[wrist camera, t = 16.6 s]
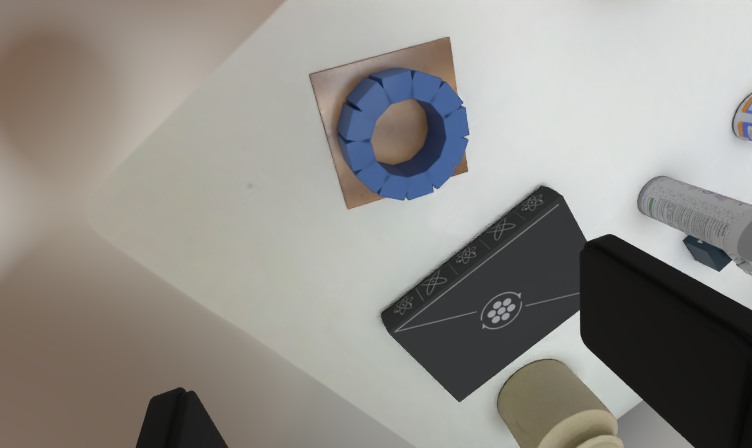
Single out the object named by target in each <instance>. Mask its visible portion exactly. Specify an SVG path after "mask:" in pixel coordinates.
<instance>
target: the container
mask: <svg viewBox="0 0 752 448" xmlns="http://www.w3.org/2000/svg"><path fill="white" fill-rule="evenodd" d="M638 207H639V210H640V211H641V212H642V213H643V214H645V215H647V216H649V217H651V218H654V219H656V220H658V221H660V222H662V223H665V224H667V225H669V226H671V227H674V228H676V229H678V230H680V231H682V232H685V233H687V234H689V235H691V236H694V237H696V238H698V239H700V240H702V241H705V242H707V243H709V244H711V245H714V246H716V247H718V248H720V249H722V250H725V251H727V252H729V253H731V254H734V255H736V256H739V257H741V258H743V259H746V260H748V261H750V262H752V205H750V204H747V203H744V202H741V201H738V200H735V199H732V198H729V197H726V196H723V195H720V194H717V193H714V192H711V191H708V190H705V189H702V188H699V187H696V186H693V185H690V184H687V183H684V182H681V181H678V180H675V179H672V178H668V177H665V176H659V177H656V178H654V179H652V180H651V181H649V182H648V183H647V184H646V185H645V186H644V188H643V189H642V191H641V193H640V195H639V198H638Z"/></svg>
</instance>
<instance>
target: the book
mask: <svg viewBox="0 0 752 448" xmlns="http://www.w3.org/2000/svg"><path fill="white" fill-rule="evenodd" d="M586 242H587V241H586V239H585V237H584V235H583V233H582V231H581V229H580V228H579V226H578V224H577V222H576V220H575V218H574V216H573V214H572V213H571V211H570V209H569V207H568V205H567V203H566V201H565V200H564V198H563V196H562V195H560V194H559V193H558V192H556V191H554V190H553V189H551V188H548V187H545V186H542V187H541V188H540V189H538V190H537V191H536V192H535V193H533V194H532V195H531V196H530V197H528V198H527V199H526V200H525V201H523V202H522V203H521V204H520V205H518V206H517V207H516V208H514V209H513V210H512V211H511V212H509V213H508V214H507V215H506V216H504V217H503V218H502V219H501V220H499V221H498V222H497V223H496V224H494V225H493V226H492V227H491V228H489V229H488V230H487V231H486V232H484V233H483V234H482V235H481V236H479V237H478V238H477V239H475V240H474V241H473V242H472V243H470V244H469V245H468V246H467V247H465V248H464V249H463V250H462V251H460V252H459V253H458V254H457V255H455V256H454V257H453V258H452V259H450V260H449V261H448V262H447V263H445V264H444V265H443V266H442V267H440V268H439V269H438V270H436V271H435V272H434V273H433V274H431V275H430V276H429V277H428V278H426V279H425V280H424V281H423V282H421V283H420V284H419V285H418V286H416V287H415V288H414V289H413V290H411V291H410V292H409V293H408V294H406V295H405V296H404V297H403V298H401V299H400V300H399V301H398V302H396V303H395V304H394V305H392V306H391V307H390V308H389V309H387V310H386V311H385V312H384V313H382V314H381V318H382V321H383V323H384V325H385V327H386V329H387V331H388V333H389V334H390V335H391V336H392V337H393V338H394V339H395V340H396V341H397V342H398V343H399V344H400V345H401V346H402V347H403V348H404V349H405V350H406V351H407V352H408V353H409V354H410V355H411V356H412V357H414V358H415V359H416V360H417V361H418V362H419V363H420V364H421V365H422V366H423V367H424V368H425V369H426V370H427V371H428V372H429V373H430V374H431V375H432V376H433V377H434V378H435V379H436V380H437V381H438V382H439V383H440V384H441V385H442V386H443V387H444V388H445V389H446V390H447V391H448V392H449V393H450V394H451V395H452V396H453V397H454V398H455V399H456V400H457V401H458V402H461V401H462V400H463V399H465V398H466V397H467V396H469V395H470V394H471V393H472V392H474V391H475V390H476V389H478V388H479V387H480V386H482V385H483V384H484V383H485V382H487V381H488V380H489V379H491V378H492V377H493V376H495V375H496V374H497V373H498V372H500V371H501V370H502V369H504V368H505V367H506V366H507V365H509V364H510V363H511V362H513V361H514V360H515V359H517V358H518V357H519V356H520V355H522V354H523V353H524V352H526V351H527V350H528V349H530V348H531V347H532V346H533V345H535V344H536V343H537V342H539V341H540V340H541V339H543V338H544V337H545V336H546V335H548V334H549V333H550V332H552V331H553V330H554V329H556V328H557V327H558V326H559V325H561V324H562V323H563V322H565V321H566V320H567V319H569V318H570V317H571V316H572V315H574V314H575V313H576V312H578V311H579V310H580V262H579V255H580V252H581V250H583V248H584V245H585V243H586Z"/></svg>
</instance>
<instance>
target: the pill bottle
mask: <svg viewBox="0 0 752 448" xmlns="http://www.w3.org/2000/svg"><path fill="white" fill-rule="evenodd" d="M734 131H735V133H736V135H737V136H738V137H739V138H741V139H744V140H748V141H752V94H751V95H750V96H749V97H748V98H747V99H746V100H745V101H744V102H743V103H742V104H741V106H740V107H739V109H738V111H737V113H736V116H735V119H734Z"/></svg>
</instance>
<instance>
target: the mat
mask: <svg viewBox="0 0 752 448" xmlns="http://www.w3.org/2000/svg"><path fill="white" fill-rule="evenodd" d="M394 67H395V68H406V69H412V70H417V71H420V72H423V73H426V74H430V75H433V76H436V77H439V78H442V81H446V82H447V83H448V84H449V85H450V87H451V88H452V89H453V90H454V92H455V93H456V94H457V87H456V80H455V73H454V65H453V58H452V51H451V43H450V37H446V38H443V39H439V40H435V41H431V42H428V43H424V44H420V45H417V46H413V47H409V48H406V49H402V50H398V51H394V52H391V53H387V54H383V55H380V56H376V57H372V58H369V59H365V60H361V61H357V62H354V63H350V64H346V65H343V66H339V67H335V68H332V69H328V70H324V71H320V72H317V73H313V74H310V75H309V76H310V79H311V83H312V86H313V90H314V93H315V97H316V100H317V104H318V107H319V111H320V114H321V118H322V121H323V125H324V128H325V132H326V135H327V139H328V142H329V146H330V149H331V153H332V156H333V160H334V164H335V167H336V171H337V174H338V178H339V181H340V185H341V188H342V192H343V195H344V199H345V202H346V206H347V209H351V208H355V207H358V206H361V205H364V204H367V203H370V202H373V201H377V200H380V199H383V198H386V197H382V196H379V195H378V194H377V192H376V193H373V192H372V191H371V190H370V189H369V188H368V187H367V186H366V185H365V184H364V183H362V182H361V181H360V180H359V179H358V178H357V177H356V176H355V174H354V173H353V172H352V170H351V169H350V168H349V166H348V165H347V163H346V161H345V160H344V158H343V155H342V151H341V148H340V144H339V141H338V137H337V134H339V133H340V132H339V131H338V130H337V126H338V122H339V118H340V114H341V110H342V106H343V103H348V104H351V103H350V102H349V101H348V100H347V99H346V97H347V96H348V95H349V94H350V93H351V92H352V91H353V89H354V88H355V87H356V86H357V85H358V84H359V83H360V82H361V81H362V80H363V79H364V78H368V79H370V78H369V75H370V74H373V73H377V72H380V71H384V70H387V69H390V68H394ZM428 130H429V128H428V123H427V117H426V112H425V110H424V109H423V108H422V107H421V106H420V104H419V103H418V102H417V101H416V100H415V99H412V98H411V99H408V100H404V101H401V102H398V103H394V104H391V105H390V106H389V107H388V109H387V110H386V111H385V112H384V113H383V114H382V115H381V116H380V117H379V118H378V119H377V120H376V124H375V127H374V131H373V135H372V138H371V143H372V147H373V151H374V155H375V159H376V161H378V162H382V163H387V164H391V165H396V164H399V163H402V162H405V161H408V160H411V159H412V158H413V157H414V156H415V155H416V154H417V153H418V152H419V151H420V150H421V149H422V147H423V146H424V143H425V140H426V136H427V133H428ZM452 165H453V164H452ZM453 166H454V167H455V168H456V172H455V173H454V174H453V175H452V176H455V175H458V174H461V173H465V172H468V168H467V161H466V153H465V152H464V155H463V157H462V160H461V163H460V166H457V165H453ZM452 176H451V177H452Z"/></svg>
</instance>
